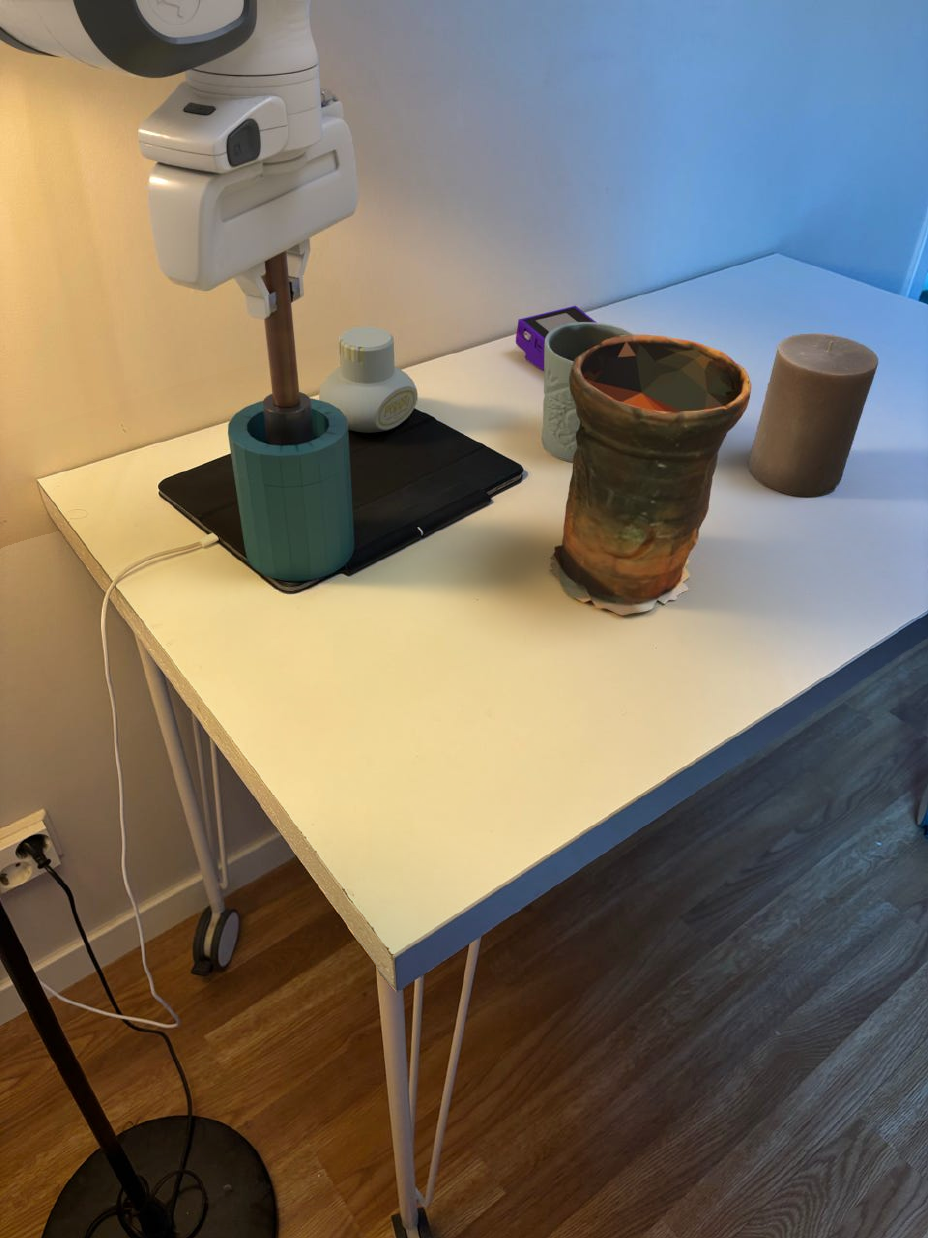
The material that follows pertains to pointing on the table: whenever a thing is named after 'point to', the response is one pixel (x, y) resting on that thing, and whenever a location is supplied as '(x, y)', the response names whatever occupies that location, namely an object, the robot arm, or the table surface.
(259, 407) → the container
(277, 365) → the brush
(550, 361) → the green embossed cup
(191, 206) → the robot arm
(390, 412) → the air freshener
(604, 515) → the vessel
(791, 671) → the table surface
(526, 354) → the handheld gaming console
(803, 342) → the pillar candle
